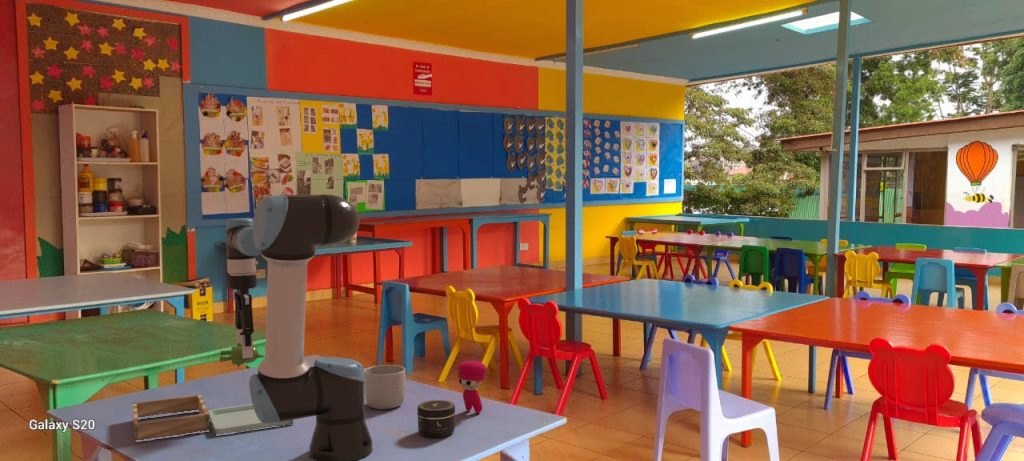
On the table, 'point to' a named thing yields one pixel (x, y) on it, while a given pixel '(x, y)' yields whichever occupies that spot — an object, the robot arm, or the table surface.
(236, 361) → the character figure
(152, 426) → the bin
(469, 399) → the toy
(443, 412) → the jar
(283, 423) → the tray
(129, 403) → the table surface
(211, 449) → the table surface
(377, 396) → the planter
